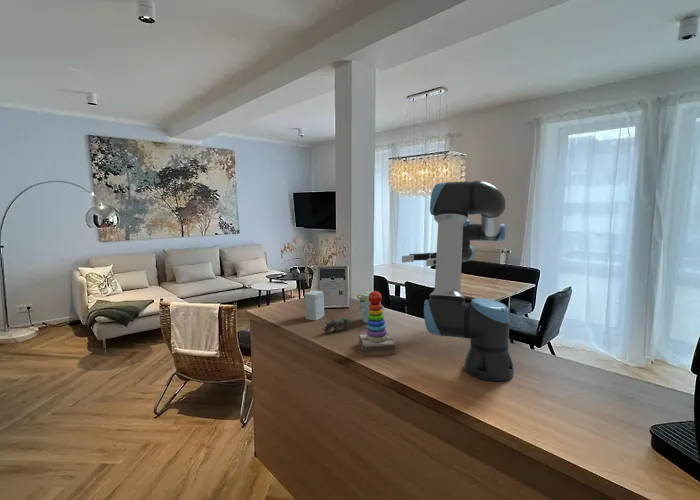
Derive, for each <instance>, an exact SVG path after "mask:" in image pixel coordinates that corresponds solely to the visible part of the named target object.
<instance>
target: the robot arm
mask: <svg viewBox="0 0 700 500" xmlns="http://www.w3.org/2000/svg"><path fill="white" fill-rule="evenodd" d="M505 209H506V198H505V195H504V194H503V193H502V192H501V190H500V189H499V188H497V187H496V186H495V185H493V184H491V183H489V182H487V181H482V180H474V181H473V180H471V181H469V180H468V181H467V180H466V181H452V182H451V181H446V182H439V183H436V184H435V185H434V186H433V188H432V191H431V193H430V200H429V212H430V215H431V216H433V220H434V221H435V222H436V224H437V236H436V252H424V253H409V255H403V256H401V263H409V262H410V263H413V262H414V261H425V262H426V264H425V266H426V267H432V266H435V278H434V289H433V291H432V292H431V293H430V294H429V299H426V300H424V304H423V317H424V323H425V328H426V330H427V332H428V333H429V334H431V335H434V336H435V335H436V336H440V337H449V338H459V339H460V338H461V339H469V340H470V341H469V342H470V346H469V349H468V351H467V354H466V356H465V359H464V370H465V371H464V372H466V373H467V374H469V375H470V376H472V377H475V378H476V379H480V380H483V381H487V382H503V381H509V380H511V379H512V378H513V377H514V375H515V368H514V367H515V366H514V363H513V361H512V360H513V359H512V357H511V355H510V351H509V346H510V345H509V341H510V339H509V338H510V322H511V320H510V319H511V318H510V309H509V308H508V306H507V305H506V304H505V303H502V302H501V301H496V300H494V299H490V298H483V297H479V298H477V297H476V298H472V299H471V301H470V302H465V301H466V300H465V299H466V297H465V296H464V295H463V294H462V292H461V286H462V284H461V282H462V263H465V262H469V261H471V260H473V258H474V256H475V254H476V253H475V249H474V248H473V245H471V242H472V241H474V242H475V241H478V242H480V241H482V242H483V241H484V242H487V241H489V242H501V241H505V240H506V224H504V223H502V219H503V218H502V216H503V215H502V214H503V213H504V211H505ZM469 215H470V216H471V215H472V216H473V215H480V220H481V223H471V220H470V219H469Z"/></svg>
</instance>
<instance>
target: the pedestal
mask: <svg viewBox="0 0 700 500" xmlns="http://www.w3.org/2000/svg"><path fill="white" fill-rule="evenodd" d="M386 335H387V339H386V340H385V341H382V342H372V341H369V340H368V339H367V337H366V336H367V333H366V334H360V335H358V345H359V347H360V351H361V353H362V356H363V357H375V356H389V355H396V343H395V342H394V341H393V339H392V337H391V336H390V335H389V333H388V332H386Z"/></svg>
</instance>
